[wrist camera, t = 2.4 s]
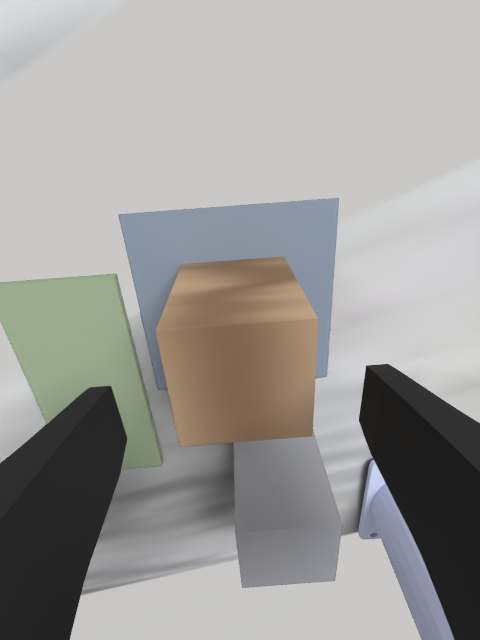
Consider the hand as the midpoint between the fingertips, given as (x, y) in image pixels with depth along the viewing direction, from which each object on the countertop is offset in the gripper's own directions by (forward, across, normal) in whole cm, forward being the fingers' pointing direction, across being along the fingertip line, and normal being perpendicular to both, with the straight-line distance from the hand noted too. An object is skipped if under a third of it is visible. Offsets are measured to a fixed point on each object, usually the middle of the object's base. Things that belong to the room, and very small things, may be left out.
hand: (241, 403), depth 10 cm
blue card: (+7, 0, 0) cm, 7 cm away
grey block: (+7, -2, +10) cm, 12 cm away
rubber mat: (+7, +8, +4) cm, 11 cm away
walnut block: (+7, 0, 0) cm, 7 cm away
